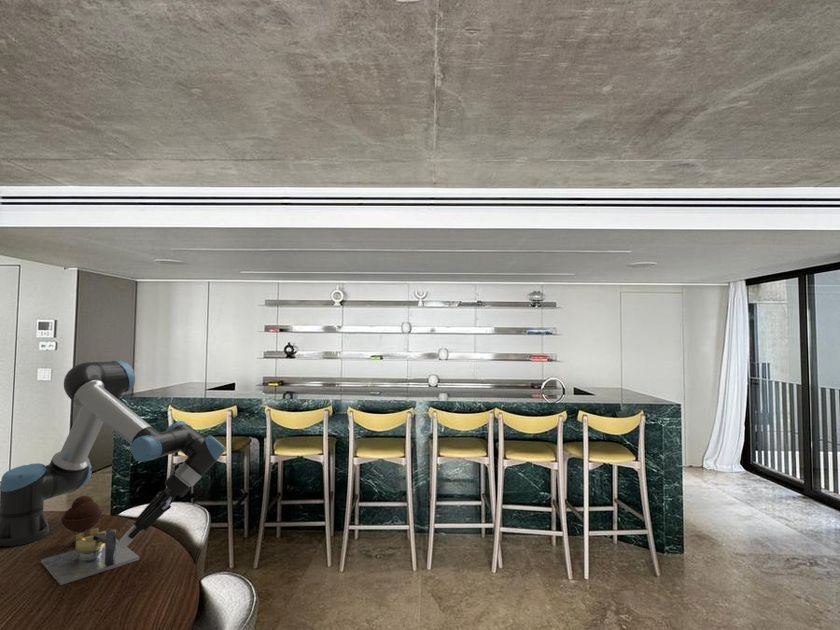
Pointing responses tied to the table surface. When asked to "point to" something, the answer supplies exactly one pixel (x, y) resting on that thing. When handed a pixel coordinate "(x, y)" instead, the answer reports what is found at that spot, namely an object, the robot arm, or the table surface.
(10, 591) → the table surface
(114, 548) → the multicoloured piece
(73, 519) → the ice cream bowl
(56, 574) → the mounting plate
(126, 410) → the robot arm
